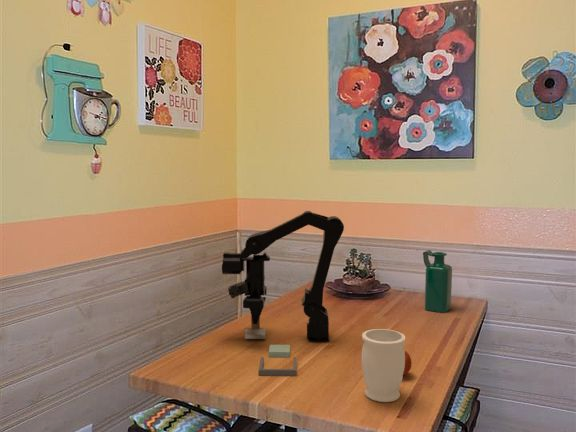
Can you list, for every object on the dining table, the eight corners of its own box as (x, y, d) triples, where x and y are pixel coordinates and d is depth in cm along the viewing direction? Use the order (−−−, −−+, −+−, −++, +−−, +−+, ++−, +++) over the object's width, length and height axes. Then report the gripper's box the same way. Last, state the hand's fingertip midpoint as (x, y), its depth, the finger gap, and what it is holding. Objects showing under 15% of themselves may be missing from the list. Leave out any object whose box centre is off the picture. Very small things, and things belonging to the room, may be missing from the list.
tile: (289, 351, 160) (289, 344, 160) (289, 358, 154) (289, 352, 154) (269, 350, 160) (269, 344, 160) (268, 358, 154) (268, 351, 154)
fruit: (379, 372, 143) (380, 343, 142) (401, 368, 146) (401, 340, 145) (394, 382, 137) (395, 352, 136) (416, 377, 140) (417, 348, 139)
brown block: (266, 334, 171) (265, 308, 170) (265, 339, 167) (265, 311, 166) (246, 334, 172) (245, 308, 171) (244, 338, 168) (244, 311, 167)
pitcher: (451, 308, 204) (454, 251, 201) (445, 313, 196) (447, 255, 194) (426, 304, 209) (428, 249, 206) (419, 309, 202) (421, 252, 199)
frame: (296, 362, 150) (296, 357, 150) (296, 375, 141) (296, 370, 141) (260, 362, 150) (260, 356, 150) (258, 375, 141) (258, 370, 141)
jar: (356, 386, 135) (357, 328, 133) (396, 385, 135) (398, 327, 134) (366, 406, 124) (367, 343, 122) (409, 404, 125) (411, 342, 123)
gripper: (233, 268, 177) (233, 313, 179) (225, 281, 159) (226, 331, 160) (266, 268, 177) (267, 313, 179) (263, 281, 158) (263, 332, 160)
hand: (255, 322), depth 169 cm, fingers closed on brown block, 2 cm apart
